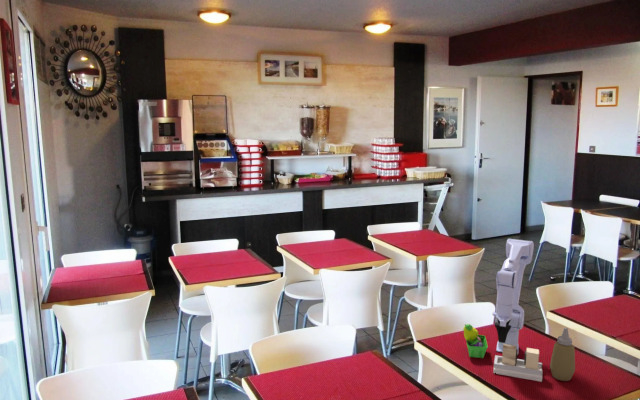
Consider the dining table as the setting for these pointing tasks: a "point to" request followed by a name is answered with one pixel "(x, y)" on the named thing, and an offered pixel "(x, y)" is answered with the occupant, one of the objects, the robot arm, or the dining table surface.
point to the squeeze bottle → (563, 358)
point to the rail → (521, 366)
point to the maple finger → (509, 354)
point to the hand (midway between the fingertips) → (502, 338)
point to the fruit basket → (475, 342)
